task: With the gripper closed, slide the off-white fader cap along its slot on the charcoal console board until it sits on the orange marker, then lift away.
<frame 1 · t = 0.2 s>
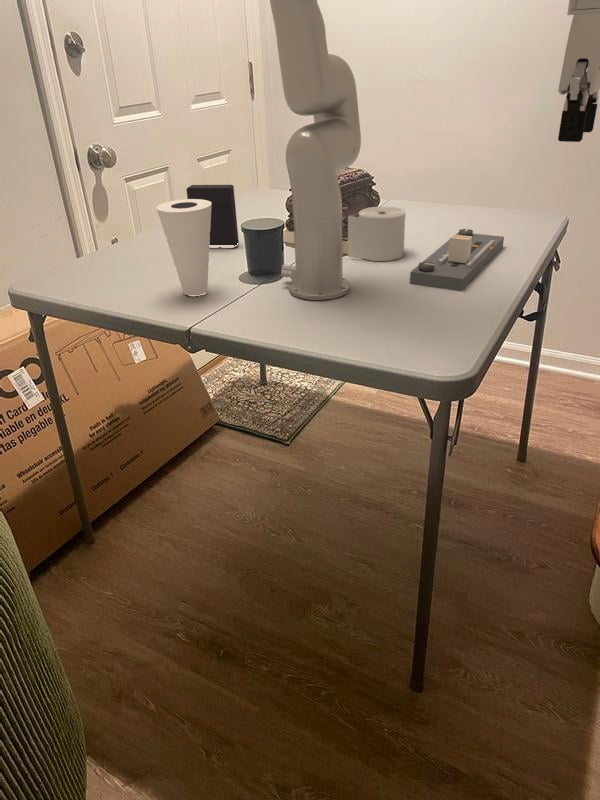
hand: (575, 136, 93), 31 cm above the table, tool pointing down, fingers open, 9 cm apart
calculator: (217, 247, 159), on the table
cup: (195, 293, 130), on the table
console: (459, 264, 139), on the table
fader: (459, 248, 131), point 5 cm above the table, slide at 0.0 cm
toilet tissue: (379, 256, 147), on the table
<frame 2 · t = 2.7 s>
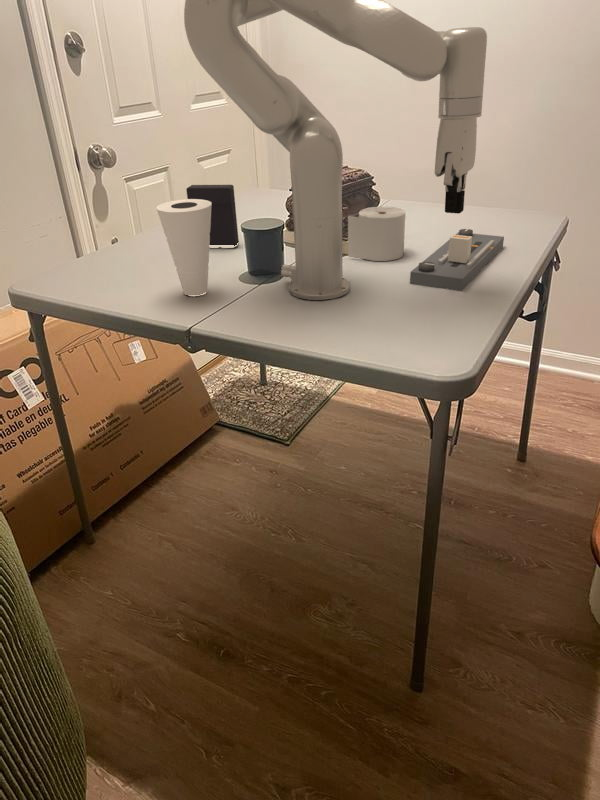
hand: (454, 211, 120), 15 cm above the table, tool pointing down, fingers closed
nothing on the table moved.
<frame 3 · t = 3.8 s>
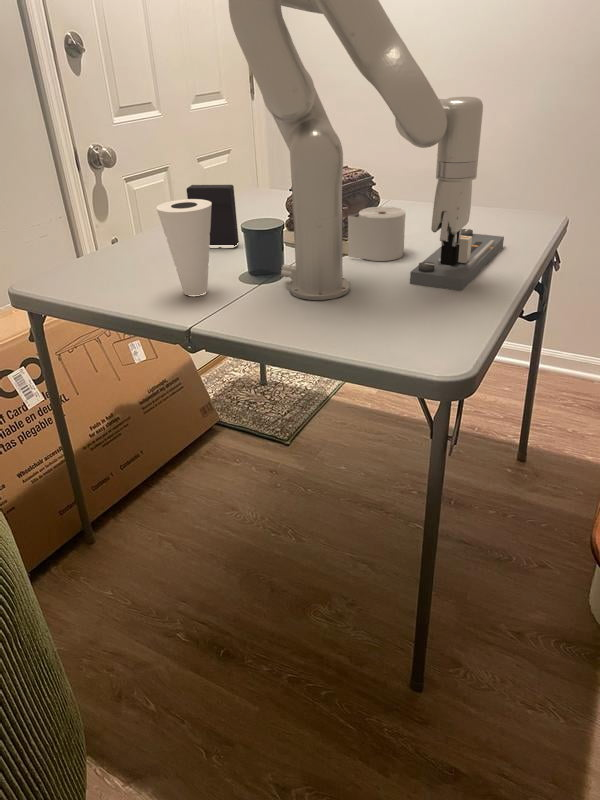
hand: (449, 263, 127), 4 cm above the table, tool pointing down, fingers closed
nothing on the table moved.
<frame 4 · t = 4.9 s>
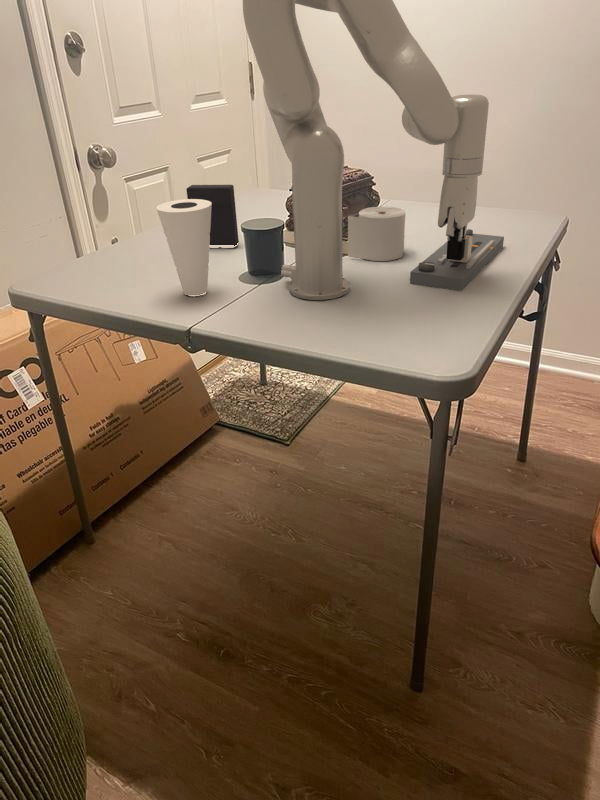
hand: (454, 258, 129), 4 cm above the table, tool pointing down, fingers closed
fader: (460, 248, 131), point 5 cm above the table, slide at 0.4 cm, touching gripper
everything else where it was.
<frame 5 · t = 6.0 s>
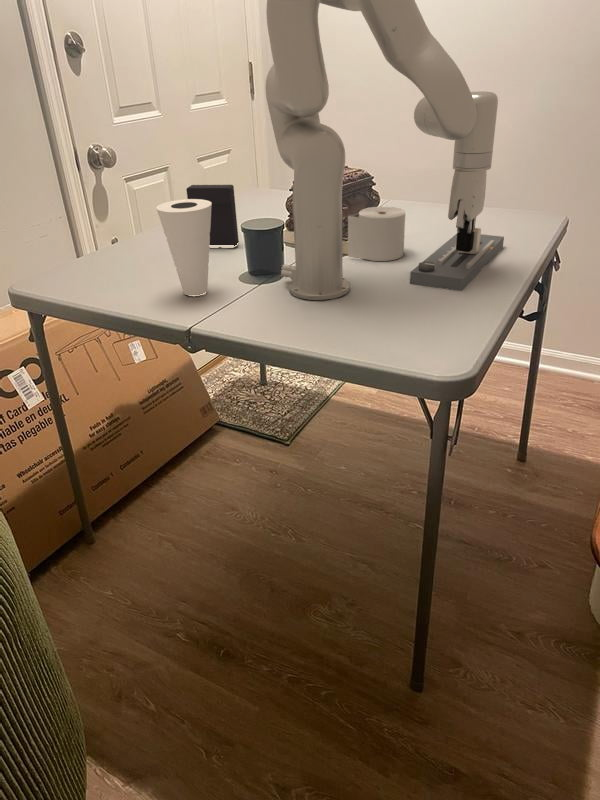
hand: (464, 250, 134), 4 cm above the table, tool pointing down, fingers closed
fader: (469, 240, 136), point 5 cm above the table, slide at 6.7 cm, touching gripper
everything else where it was.
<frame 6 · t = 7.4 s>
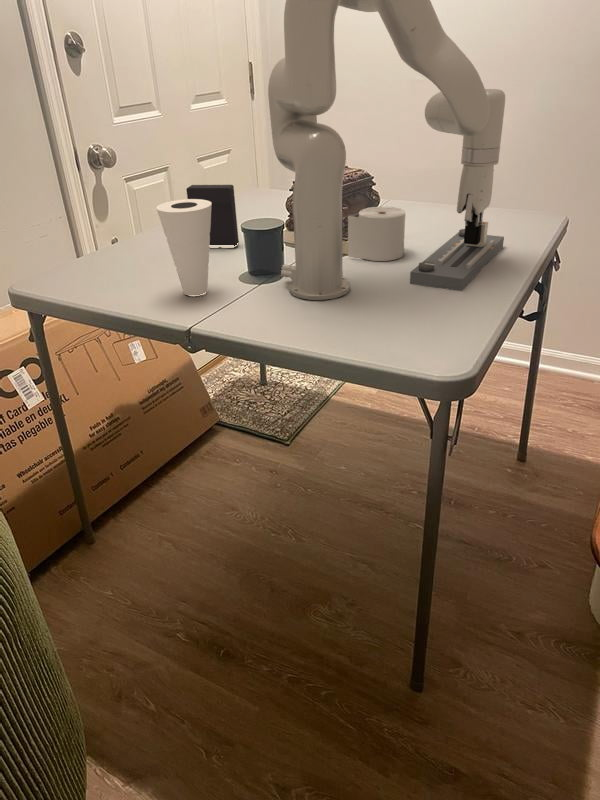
hand: (471, 243, 138), 4 cm above the table, tool pointing down, fingers closed
fader: (476, 233, 140), point 5 cm above the table, slide at 12.3 cm, touching gripper
everything else where it was.
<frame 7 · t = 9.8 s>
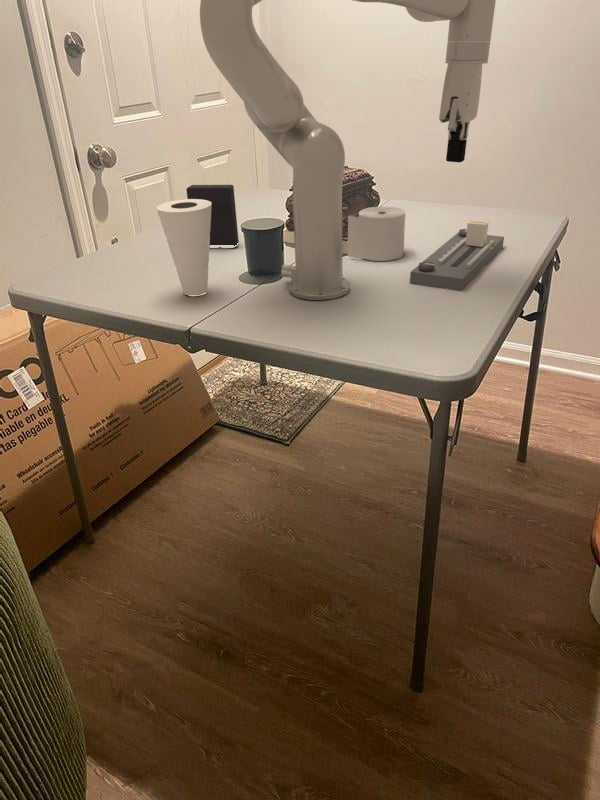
hand: (455, 161, 122), 23 cm above the table, tool pointing down, fingers closed
fader: (476, 233, 140), point 5 cm above the table, slide at 12.5 cm
everything else where it was.
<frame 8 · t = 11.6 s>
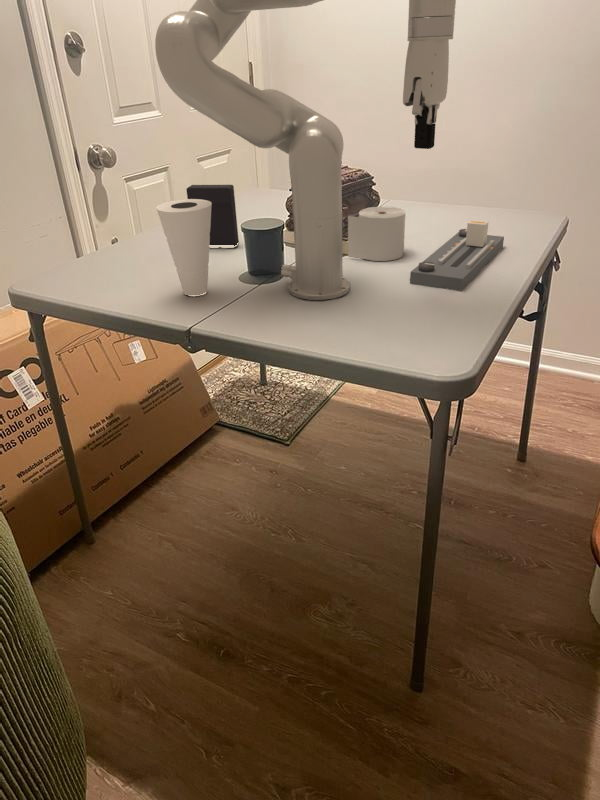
hand: (424, 147, 113), 27 cm above the table, tool pointing down, fingers closed
nothing on the table moved.
at the end: fader slide at 12.5 cm; the gripper is holding nothing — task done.
